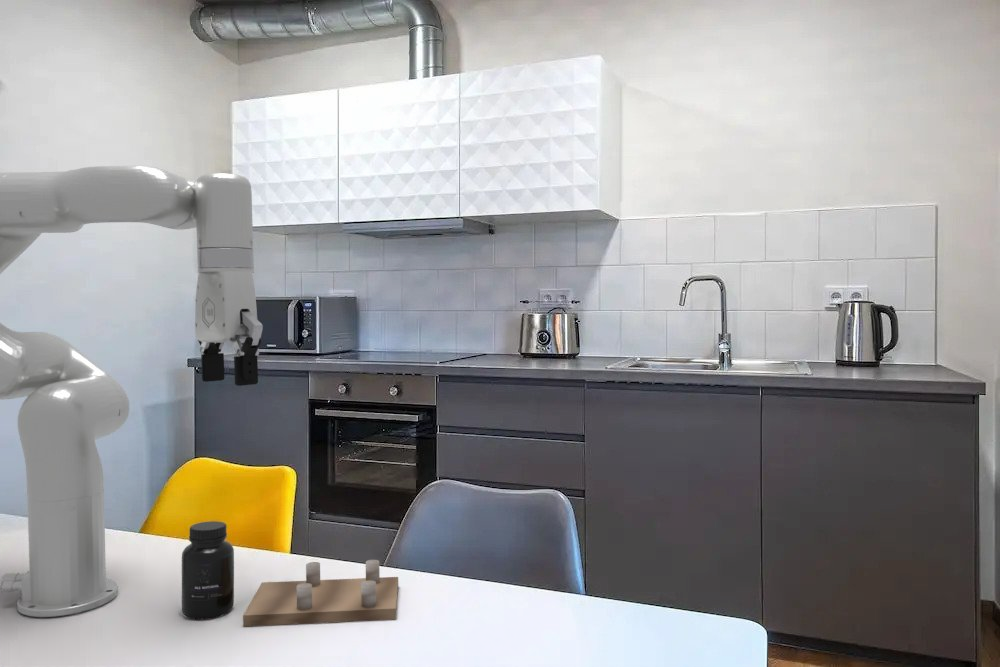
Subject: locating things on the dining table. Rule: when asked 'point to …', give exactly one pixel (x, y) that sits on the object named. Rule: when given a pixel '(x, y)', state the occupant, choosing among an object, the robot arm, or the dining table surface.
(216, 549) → the supplement bottle
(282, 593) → the peg board
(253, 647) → the dining table surface
